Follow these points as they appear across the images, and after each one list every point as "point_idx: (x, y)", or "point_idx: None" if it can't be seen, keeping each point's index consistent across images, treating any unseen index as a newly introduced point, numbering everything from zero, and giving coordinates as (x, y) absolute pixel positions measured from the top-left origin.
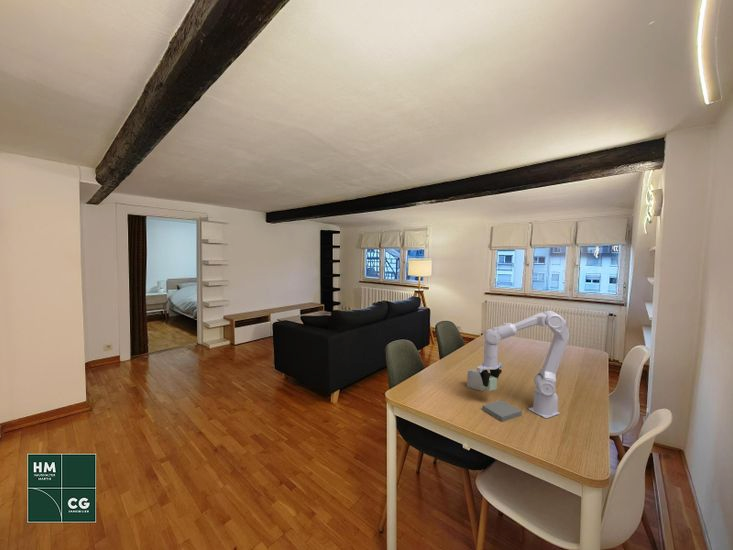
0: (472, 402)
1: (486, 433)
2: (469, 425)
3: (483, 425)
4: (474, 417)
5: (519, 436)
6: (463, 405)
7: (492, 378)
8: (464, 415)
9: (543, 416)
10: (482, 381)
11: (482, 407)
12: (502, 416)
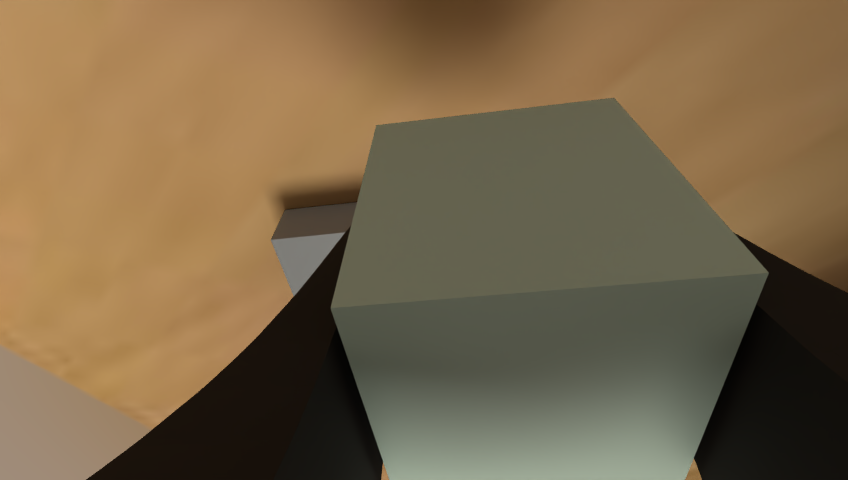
0: (250, 31)
1: (154, 416)
2: (56, 345)
3: (172, 365)
4: (139, 283)
5: None
6: (84, 69)
7: (545, 470)
8: (45, 240)
9: None
10: (316, 273)
11: (277, 226)
12: None
